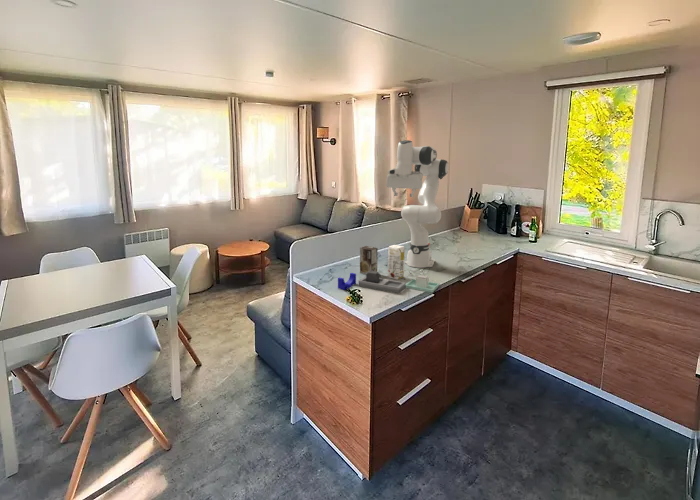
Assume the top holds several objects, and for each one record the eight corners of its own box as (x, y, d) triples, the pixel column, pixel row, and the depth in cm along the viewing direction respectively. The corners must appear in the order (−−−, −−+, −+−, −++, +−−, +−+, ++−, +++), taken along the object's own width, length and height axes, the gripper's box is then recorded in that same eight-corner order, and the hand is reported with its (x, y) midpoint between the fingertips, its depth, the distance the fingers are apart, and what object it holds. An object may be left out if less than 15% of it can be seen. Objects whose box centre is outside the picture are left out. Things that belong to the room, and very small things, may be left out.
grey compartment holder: (366, 281, 221) (366, 268, 219) (405, 288, 210) (406, 274, 208) (358, 286, 213) (358, 272, 211) (398, 293, 202) (399, 279, 200)
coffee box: (377, 273, 235) (378, 247, 231) (371, 276, 230) (371, 249, 226) (365, 270, 241) (366, 245, 237) (359, 273, 236) (359, 247, 232)
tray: (412, 281, 221) (412, 279, 220) (438, 286, 213) (439, 283, 213) (404, 287, 211) (404, 285, 211) (432, 292, 204) (432, 290, 203)
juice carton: (397, 280, 222) (398, 248, 218) (386, 277, 228) (386, 246, 223) (405, 277, 228) (406, 246, 223) (393, 274, 233) (394, 243, 229)
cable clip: (344, 290, 208) (344, 279, 206) (337, 288, 210) (337, 278, 209) (358, 284, 216) (358, 274, 215) (351, 282, 219) (351, 272, 218)
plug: (418, 284, 215) (418, 274, 214) (428, 286, 213) (429, 276, 211) (415, 286, 212) (415, 276, 210) (425, 288, 209) (426, 278, 207)
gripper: (424, 171, 209) (423, 196, 212) (389, 170, 219) (389, 194, 222) (420, 171, 203) (419, 198, 207) (385, 170, 213) (384, 195, 217)
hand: (403, 196), depth 215 cm, fingers open, 8 cm apart
